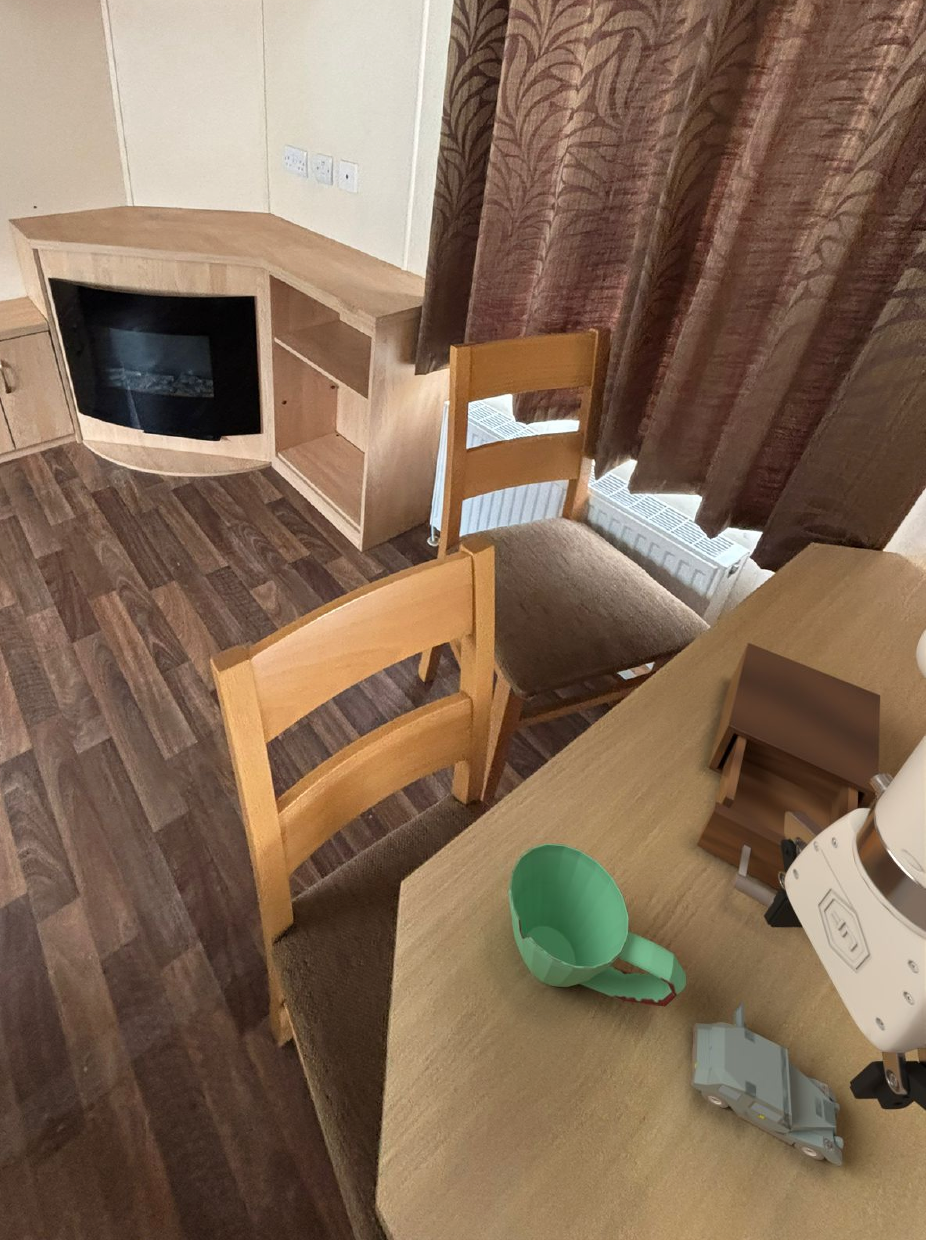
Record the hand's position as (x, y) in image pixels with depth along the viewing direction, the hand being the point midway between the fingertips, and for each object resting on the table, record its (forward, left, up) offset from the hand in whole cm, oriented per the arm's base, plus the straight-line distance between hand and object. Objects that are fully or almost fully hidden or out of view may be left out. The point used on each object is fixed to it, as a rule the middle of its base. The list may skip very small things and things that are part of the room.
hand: (826, 1000), depth 48 cm
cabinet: (-11, -34, -16) cm, 39 cm away
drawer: (-6, -21, -15) cm, 26 cm away
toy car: (0, 0, -16) cm, 16 cm away
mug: (+14, -4, -16) cm, 21 cm away
